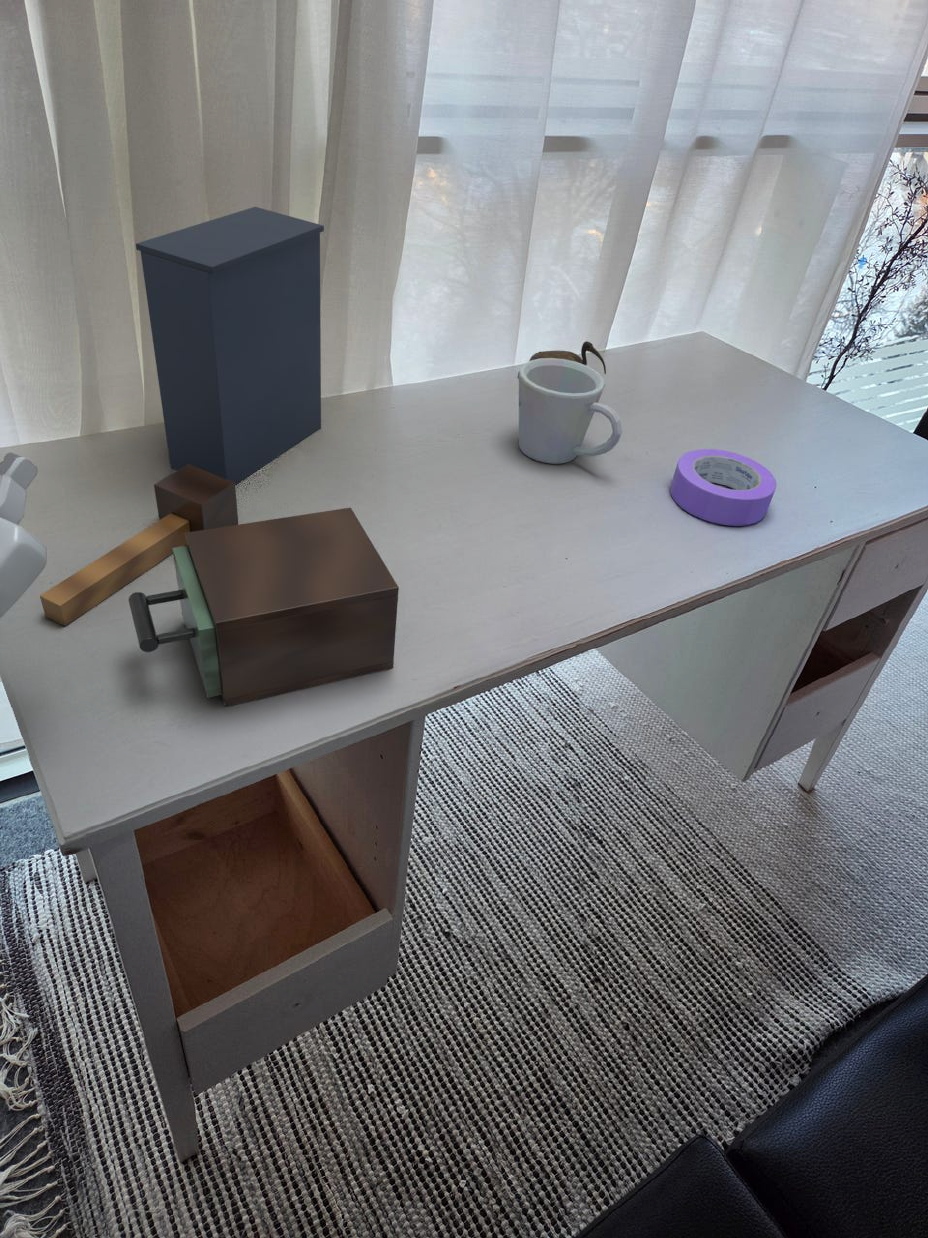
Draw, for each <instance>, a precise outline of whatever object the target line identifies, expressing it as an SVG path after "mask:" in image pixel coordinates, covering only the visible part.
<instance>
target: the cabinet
mask: <svg viewBox="0 0 928 1238" xmlns="http://www.w3.org/2000/svg"><path fill="white" fill-rule="evenodd" d="M185 539H186V545H185V546H187V547H188V550H189V553H190V556H191V559H192V562H193V565H194V568H195V571H196V574H197V576H198V579H199V582H200V585H201V588H202V591H203V594H204V597H205V600H206V603H207V606H208V609H209V612H210V615H211V618H212V621H213V624H214V627H215V634H216V643H217V651H218V660H219V668H220V677H221V686H222V694H221V695H220V696H221V699H222V701H223V705H224V707H225V708H227V707H231V706H236V705H240V704H243V703H244V704H245V703H249V702H251V701H252V702H253V701H257V700H261V699H265V698H266V699H267V698H269V697H274V696H278V695H282V694H287V693H291V692H295V691H300V690H304V689H309V688H312V687H317V686H321V685H325V684H329V683H330V684H331V683H334V682H339V681H342V680H347V679H351V678H352V679H353V678H356V677H359V676H363V675H369V674H373V673H377V672H382V671H386V670H389V669H393V668H394V659H395V647H396V646H395V645H396V632H397V631H396V630H397V619H398V618H397V617H398V603H399V602H398V601H399V589H400V588H399V585H398V583H397V582H396V580H395V579H394V577H393V576H392V573H391V572H390V570H389V569H388V567H387V565H386V563H385V562H384V561H383V559H382V557H381V555H380V554H379V552H378V550H377V549H376V547H375V546H374V543H373V542H372V540H371V539H370V537H369V535H368V534H367V532H366V530H365V529H364V527H363V525H362V523H361V522H360V521H359V519H358V517H357V515H356V513H355V512H354V511H353V509H352V507H345V508H344V507H343V508H338V509H332V510H326V511H320V512H319V511H318V512H313V513H312V512H311V513H305V514H299V515H292V516H286V517H280V518H272V519H265V520H259V521H253V522H247V523H240V524H239V523H238V525H233V526H226V527H220V528H213V529H206V530H200V531H193V532H187V533H185Z"/></svg>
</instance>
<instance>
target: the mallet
mask: <svg viewBox="0 0 928 1238" xmlns="http://www.w3.org/2000/svg"><path fill="white" fill-rule="evenodd" d="M153 489H154V495H155V501H156V508H157V514H158V515H157V516H158V521H156V522H154V523H153V524H151V525H149V526H148V527H146V528H144V529H143V530H142V531H140V532H138V533H137V534H135V535H133V536H131V538H129V539H128V540H125V541H124V542H122V543H121V544H119V545H118V546H116V547H115V548H113V549H111V550H110V551H108V552H106V553H105V554H103V555H101V556H100V557H99V558H97V559H95V560H94V561H92V562H90V563H89V564H88V565H86V566H84V567H83V568H81V569H79V570H78V571H76V572H75V573H73V574H72V575H70V576H68V577H67V578H65V579H64V580H62V581H60V582H59V583H57V584H56V585H54V586H52V588H49V589H48V590H46V591H45V592H43V593H42V594H40V595H39V599H40V602H41V607H42V609H43V613H44V616H45V617H46V618H48V619H50V620H52V621H53V622H56V623H58V624H60V625H62V626H64V627H66V626H68V625H69V624H71V623H73V622H74V621H75V620H77V619H78V618H80V617H81V616H83V615H84V614H86V613H87V612H88V611H90V610H91V609H93V608H95V607H96V606H98V604H100V603H102V602H103V601H105V600H107V598H109V597H111V596H112V595H114V594H115V593H116V592H118V591H120V590H121V589H123V588H124V587H125V586H127V585H129V584H130V583H131V582H133V581H134V580H135V579H137V578H138V577H140V576H142V575H143V574H145V573H146V572H148V571H149V570H151V569H152V568H153V567H155V566H156V565H158V564H159V563H161V562H162V561H164V560H165V559H166V558H168V557H170V556H171V555H173V549H172V548H175V547H181V546H186V539H185V533H187V532H193V531H200V530H206V529H213V528H220V527H226V526H233V525H239V514H238V502H237V490H236V489H237V487H236V485H235V483H234V482H231V481H229V480H227V479H224V478H222V477H219V476H217V475H214V474H212V473H209V472H207V471H205V470H202V469H200V468H197V467H195V466H192V465H190V464H188V465H186V466H185V467H183V468H181V469H179V470H176V471H174V472H172V473H171V474H169V475H168V476H166V477H164V478H162V479H161V480H159V481H157V482H155V483H153Z"/></svg>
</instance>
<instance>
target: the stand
mask: <svg viewBox="0 0 928 1238" xmlns="http://www.w3.org/2000/svg"><path fill="white" fill-rule="evenodd" d="M323 232H325V225H323V224H320V223H316V222H313V221H308V220H305V219H301V218H297V217H294V216H291V215H290V216H289V215H287V214H283V213H281V212H276V211H273V210H269V209H265V208H262V207H258V206H252V207H250V208H246V209H243V210H239V211H237V212H233V213H229V214H227V215H224V216H221V217H217V218H213V219H211V220H207V221H204V222H201V223H198V224H194V225H191V226H188V227H185V228H182V229H179V230H175V231H172V232H168V233H165V234H163V235H159V236H156V237H153V238H149V239H145V240H143V241H139V242H136V243H135V250H137V251H139V252H140V258H141V265H142V266H141V267H142V273H143V279H144V287H145V294H146V302H147V309H148V316H149V323H150V329H151V338H152V345H153V352H154V359H155V366H156V373H157V380H158V387H159V394H160V396H159V397H160V401H161V402H160V403H161V409H162V416H163V424H164V432H165V439H166V446H167V453H168V460H169V468H171V469H173V470H176V471H178V470H179V469H181V468H183V467H185V466H186V465H188V464H190V465H192V466H195V467H197V468H200V469H202V470H205V471H207V472H209V473H212V474H214V475H217V476H219V477H222V478H224V479H227V480H229V481H231V482H234V483H235V486H236V485H238V484H239V483H241V482H242V481H244V480H245V479H246V478H249V477H250V476H251V475H253V474H254V473H256V472H258V471H259V470H260V469H261V468H263V467H265V466H266V465H268V464H269V463H271V462H273V460H275V459H277V458H278V457H280V456H281V455H283V454H284V453H287V451H289V450H290V449H292V448H293V447H295V446H296V445H298V444H299V443H301V442H302V441H304V440H305V439H307V438H308V437H309V436H312V435H313V434H314V433H316V432H317V431H319V430H320V429H321V428H322V369H321V368H322V366H321V365H322V364H321V363H322V362H321V361H322V357H321V355H322V354H321V353H322V352H321V351H322V346H321V345H322V344H321V340H322V339H321V338H322V337H321V335H322V334H321V332H322V331H321V328H322V327H321V233H323Z"/></svg>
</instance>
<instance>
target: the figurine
mask: <svg viewBox="0 0 928 1238" xmlns="http://www.w3.org/2000/svg"><path fill="white" fill-rule="evenodd" d="M587 352H589V353H592V355H594V356H596V357H597V358H598V360H600V362H601V363H602V366H603V373H604V375H606V374H607V370H606V369H607V368H606V363H605V361H604V358H603V357H602V355H601V353H600V352H599V351H598V350H597V349H596V348H595V347H594V345H593V343H591V341H588V340H587V341H584V342H583V343H582V345H581V350H580V355H581V356H580V355H578V354H577V353H575V352H572V351H569V350H545V351H538V352H535V353H534V354H532V355H531V356H530V358H529V360H528V362H529V361H531V360H536V359H542V358H557V359H565V360H570V361H574V362H578V363H581V364H583V365H586V366H588V361H587ZM517 377H518V378H519V371H518V373H517Z"/></svg>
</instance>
